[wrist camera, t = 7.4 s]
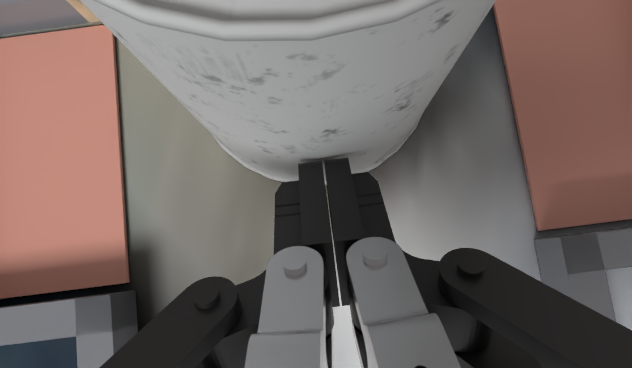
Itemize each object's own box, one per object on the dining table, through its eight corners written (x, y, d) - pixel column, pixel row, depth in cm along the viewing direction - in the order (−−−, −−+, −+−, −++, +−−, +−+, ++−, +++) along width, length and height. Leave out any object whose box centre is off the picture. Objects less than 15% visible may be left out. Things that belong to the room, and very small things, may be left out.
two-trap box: (784, 430, 16) (849, 455, 14) (-53, 531, 16) (-106, 569, 14) (599, -272, 20) (628, -328, 18) (-54, -181, 21) (-95, -227, 19)
